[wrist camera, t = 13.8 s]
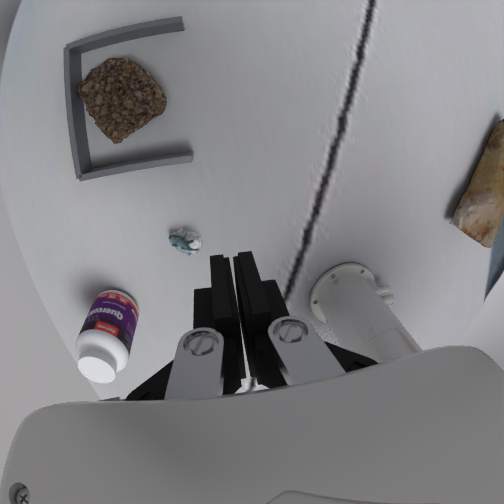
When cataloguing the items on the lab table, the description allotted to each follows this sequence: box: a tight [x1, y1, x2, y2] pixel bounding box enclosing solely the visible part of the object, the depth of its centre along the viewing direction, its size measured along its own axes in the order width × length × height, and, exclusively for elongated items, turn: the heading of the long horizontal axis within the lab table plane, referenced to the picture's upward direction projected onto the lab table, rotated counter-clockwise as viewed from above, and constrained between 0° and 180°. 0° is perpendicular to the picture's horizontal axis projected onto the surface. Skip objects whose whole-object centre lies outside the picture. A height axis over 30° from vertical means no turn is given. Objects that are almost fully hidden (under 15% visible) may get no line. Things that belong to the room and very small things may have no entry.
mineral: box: [450, 119, 504, 248], centre depth 40 cm, size 26×9×10 cm
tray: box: [64, 16, 193, 181], centre depth 30 cm, size 15×19×4 cm
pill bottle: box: [76, 290, 139, 383], centre depth 39 cm, size 8×8×14 cm
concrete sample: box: [76, 57, 166, 144], centre depth 30 cm, size 12×10×5 cm
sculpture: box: [169, 228, 202, 255], centre depth 40 cm, size 10×12×6 cm
